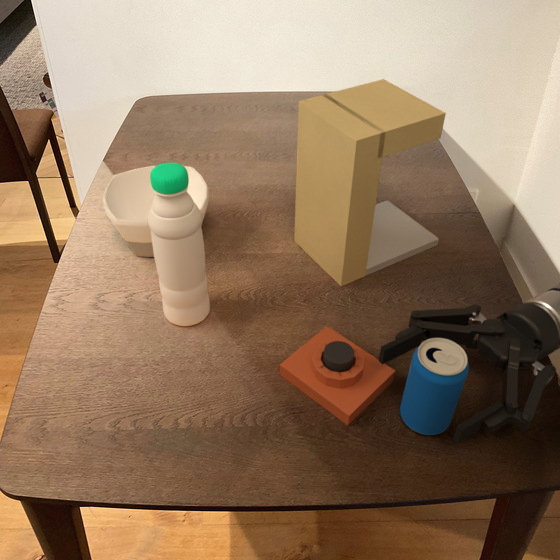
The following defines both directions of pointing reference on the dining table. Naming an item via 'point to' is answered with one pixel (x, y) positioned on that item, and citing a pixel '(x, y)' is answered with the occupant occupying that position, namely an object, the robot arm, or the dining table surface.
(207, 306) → the water bottle
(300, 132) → the coffee maker
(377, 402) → the dining table surface
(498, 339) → the robot arm
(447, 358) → the beverage can
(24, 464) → the dining table surface
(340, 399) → the brew pad
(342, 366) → the button
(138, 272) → the dining table surface
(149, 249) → the bowl
